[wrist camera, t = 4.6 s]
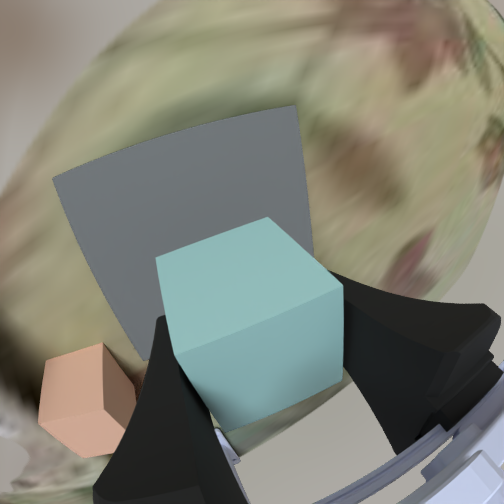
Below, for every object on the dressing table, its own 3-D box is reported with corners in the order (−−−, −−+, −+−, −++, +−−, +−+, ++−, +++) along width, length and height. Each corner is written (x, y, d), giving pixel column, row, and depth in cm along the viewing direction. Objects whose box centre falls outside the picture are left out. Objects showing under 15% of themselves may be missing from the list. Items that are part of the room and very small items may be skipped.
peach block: (133, 384, 18) (143, 445, 14) (81, 399, 17) (83, 458, 13) (102, 341, 16) (103, 409, 12) (46, 359, 15) (38, 423, 11)
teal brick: (284, 303, 14) (342, 380, 10) (193, 340, 13) (225, 432, 9) (267, 216, 12) (343, 285, 8) (155, 257, 11) (174, 355, 7)
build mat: (314, 293, 20) (316, 294, 20) (143, 358, 18) (143, 360, 17) (293, 105, 14) (295, 105, 14) (53, 177, 11) (52, 178, 11)
